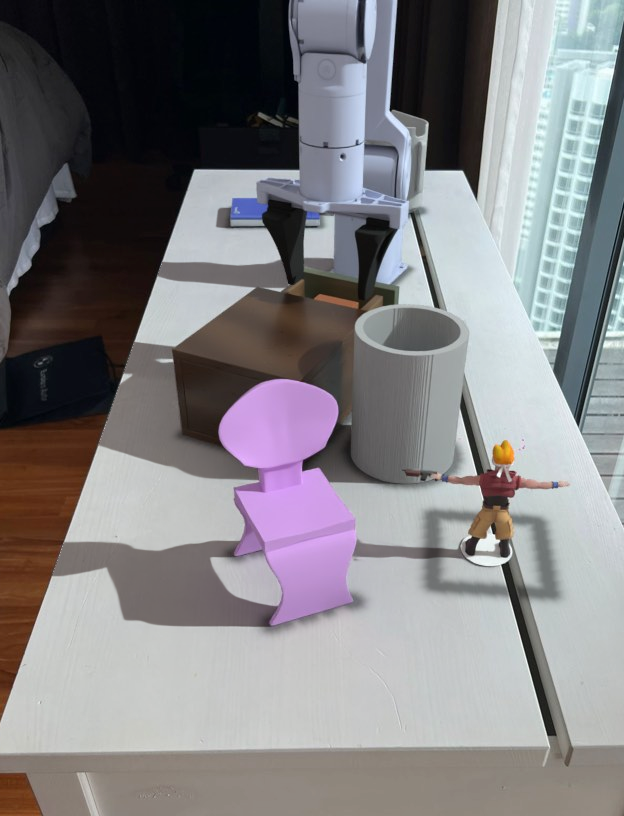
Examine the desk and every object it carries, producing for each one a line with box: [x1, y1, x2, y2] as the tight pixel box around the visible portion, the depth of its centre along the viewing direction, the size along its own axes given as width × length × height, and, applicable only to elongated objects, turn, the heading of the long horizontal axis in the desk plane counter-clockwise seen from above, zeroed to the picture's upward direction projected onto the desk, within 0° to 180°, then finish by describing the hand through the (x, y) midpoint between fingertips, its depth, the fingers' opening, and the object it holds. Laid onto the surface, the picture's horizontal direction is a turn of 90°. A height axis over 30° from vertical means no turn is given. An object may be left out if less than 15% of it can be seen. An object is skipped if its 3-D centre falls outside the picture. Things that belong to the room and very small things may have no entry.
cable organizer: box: [364, 109, 429, 214], centre depth 121 cm, size 7×12×12 cm, turn 38°
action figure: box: [402, 439, 571, 567], centre depth 62 cm, size 12×3×9 cm, turn 86°
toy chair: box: [218, 379, 358, 627], centre depth 57 cm, size 8×9×15 cm
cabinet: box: [171, 286, 368, 468], centre depth 77 cm, size 15×12×9 cm
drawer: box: [280, 266, 400, 311], centre depth 85 cm, size 18×11×7 cm, turn 155°
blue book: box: [229, 197, 321, 227], centre depth 120 cm, size 2×8×12 cm
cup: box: [350, 303, 470, 485], centre depth 71 cm, size 9×9×12 cm
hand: (330, 288), depth 82 cm, fingers open, 7 cm apart
